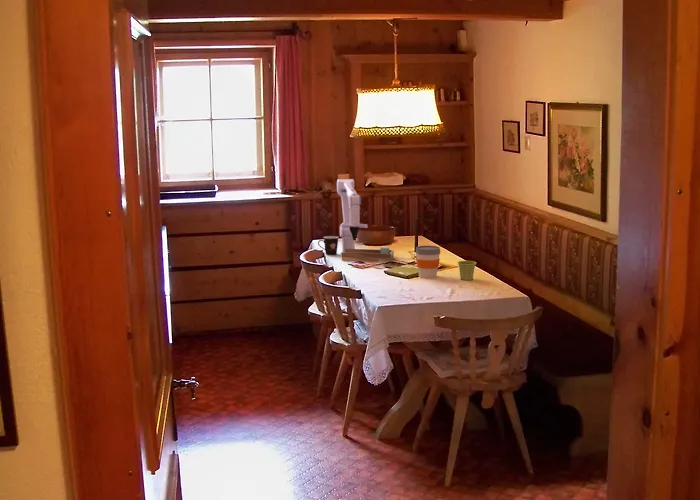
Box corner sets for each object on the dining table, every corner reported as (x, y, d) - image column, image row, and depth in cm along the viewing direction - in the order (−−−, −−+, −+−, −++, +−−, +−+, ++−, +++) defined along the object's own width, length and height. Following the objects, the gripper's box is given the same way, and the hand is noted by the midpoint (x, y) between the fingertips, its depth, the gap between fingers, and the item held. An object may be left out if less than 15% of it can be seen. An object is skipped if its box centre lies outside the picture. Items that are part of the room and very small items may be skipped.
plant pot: (477, 281, 427) (478, 264, 426) (459, 281, 426) (459, 264, 425) (473, 277, 436) (474, 260, 435) (455, 277, 436) (455, 260, 434)
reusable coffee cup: (443, 278, 434) (444, 249, 432) (420, 279, 431) (421, 250, 428) (434, 273, 446) (434, 245, 443) (411, 274, 443) (412, 246, 440)
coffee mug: (339, 252, 504) (339, 236, 503) (337, 255, 496) (337, 238, 494) (319, 252, 506) (319, 235, 504) (317, 255, 497) (317, 238, 495)
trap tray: (345, 256, 494) (345, 248, 493) (393, 257, 489) (393, 250, 488) (341, 260, 481) (341, 252, 480) (391, 261, 477) (391, 254, 476)
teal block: (381, 254, 488) (381, 246, 488) (389, 254, 488) (389, 246, 487) (380, 255, 484) (380, 248, 483) (388, 256, 483) (388, 248, 482)
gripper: (340, 217, 481) (340, 240, 484) (366, 217, 479) (366, 241, 481) (342, 215, 488) (342, 238, 491) (368, 216, 486) (367, 239, 488)
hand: (354, 240), depth 487 cm, fingers closed
